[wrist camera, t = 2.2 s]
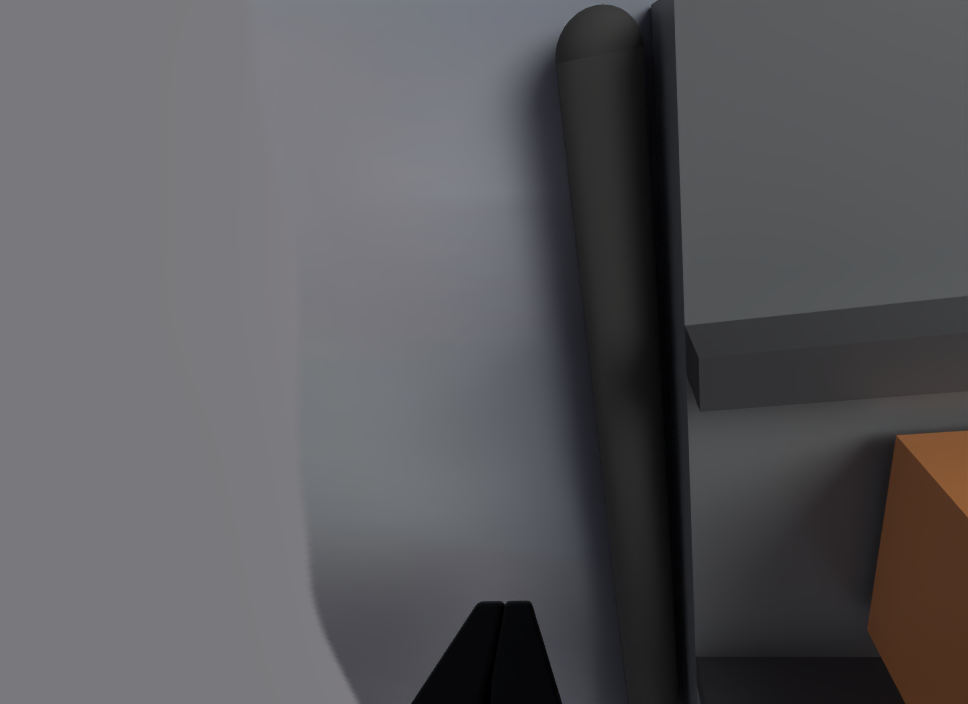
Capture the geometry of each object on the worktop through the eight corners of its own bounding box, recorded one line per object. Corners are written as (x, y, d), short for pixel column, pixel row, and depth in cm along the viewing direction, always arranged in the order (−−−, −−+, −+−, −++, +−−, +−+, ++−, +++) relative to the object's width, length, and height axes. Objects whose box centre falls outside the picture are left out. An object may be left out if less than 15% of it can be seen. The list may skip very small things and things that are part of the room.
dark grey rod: (677, 714, 15) (685, 764, 14) (629, 713, 15) (634, 762, 14) (636, -1, 8) (645, -9, 7) (551, 17, 8) (548, 12, 7)
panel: (1040, 732, 14) (1154, 895, 11) (685, 724, 15) (710, 865, 13) (1372, -148, 7) (1907, -286, 4) (650, 4, 8) (690, -22, 6)
